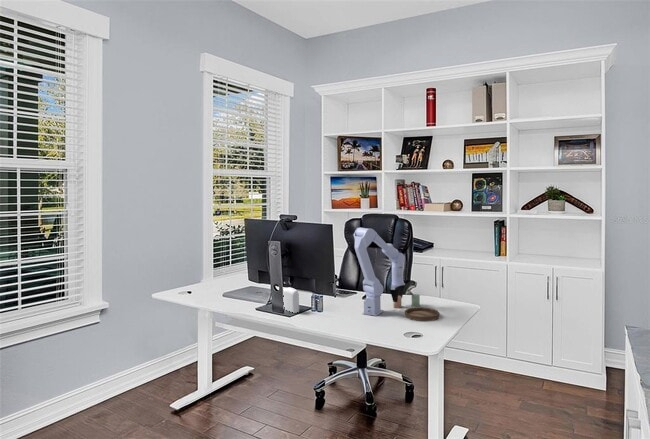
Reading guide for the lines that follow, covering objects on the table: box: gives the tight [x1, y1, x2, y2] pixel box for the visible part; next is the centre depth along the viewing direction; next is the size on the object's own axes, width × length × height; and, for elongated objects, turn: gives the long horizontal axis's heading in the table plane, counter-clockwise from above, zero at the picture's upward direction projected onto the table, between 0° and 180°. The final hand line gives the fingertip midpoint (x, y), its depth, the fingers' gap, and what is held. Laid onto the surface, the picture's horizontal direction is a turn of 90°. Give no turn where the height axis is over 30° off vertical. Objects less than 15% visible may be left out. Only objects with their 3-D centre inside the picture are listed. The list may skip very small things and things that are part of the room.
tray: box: [404, 306, 440, 322], centre depth 227 cm, size 16×16×2 cm
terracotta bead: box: [392, 295, 403, 309], centre depth 243 cm, size 4×4×6 cm
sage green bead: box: [411, 293, 421, 308], centre depth 245 cm, size 4×4×6 cm
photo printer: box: [282, 286, 300, 314], centre depth 240 cm, size 10×4×12 cm, turn 39°
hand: (397, 300), depth 243 cm, fingers open, 7 cm apart
